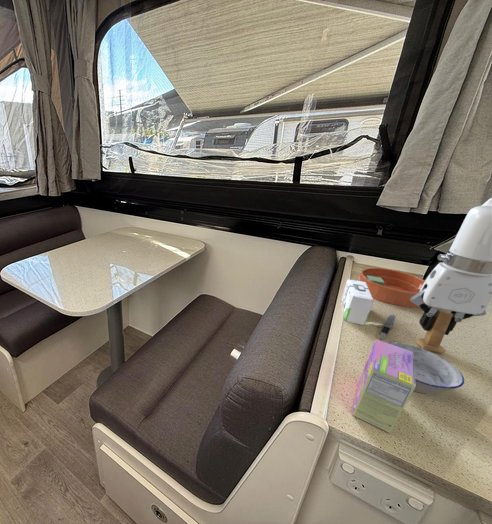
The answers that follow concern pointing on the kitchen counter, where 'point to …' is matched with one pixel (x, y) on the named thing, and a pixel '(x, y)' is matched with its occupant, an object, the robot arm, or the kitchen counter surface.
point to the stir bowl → (392, 286)
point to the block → (376, 280)
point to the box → (384, 385)
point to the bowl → (432, 371)
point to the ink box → (356, 302)
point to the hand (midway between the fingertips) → (433, 329)
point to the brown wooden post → (436, 332)
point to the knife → (386, 327)
